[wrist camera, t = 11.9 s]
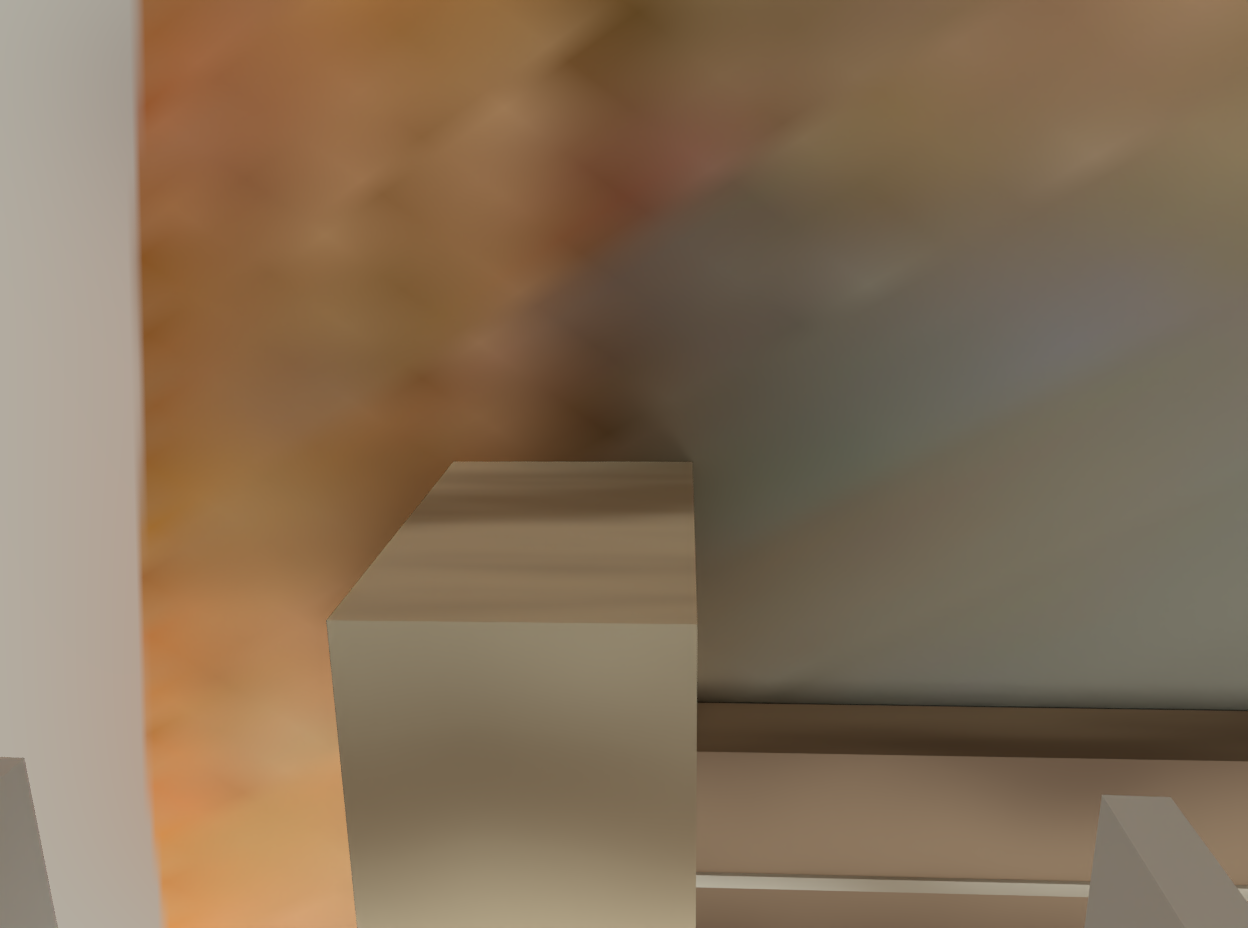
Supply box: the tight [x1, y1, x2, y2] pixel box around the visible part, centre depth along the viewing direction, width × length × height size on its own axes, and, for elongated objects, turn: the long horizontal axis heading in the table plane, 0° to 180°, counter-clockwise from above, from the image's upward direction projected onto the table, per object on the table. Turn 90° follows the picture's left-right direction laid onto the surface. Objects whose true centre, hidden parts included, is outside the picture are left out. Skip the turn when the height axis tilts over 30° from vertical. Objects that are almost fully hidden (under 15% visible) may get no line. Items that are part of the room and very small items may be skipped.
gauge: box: [326, 462, 697, 928], centre depth 19 cm, size 10×5×8 cm, turn 1°
